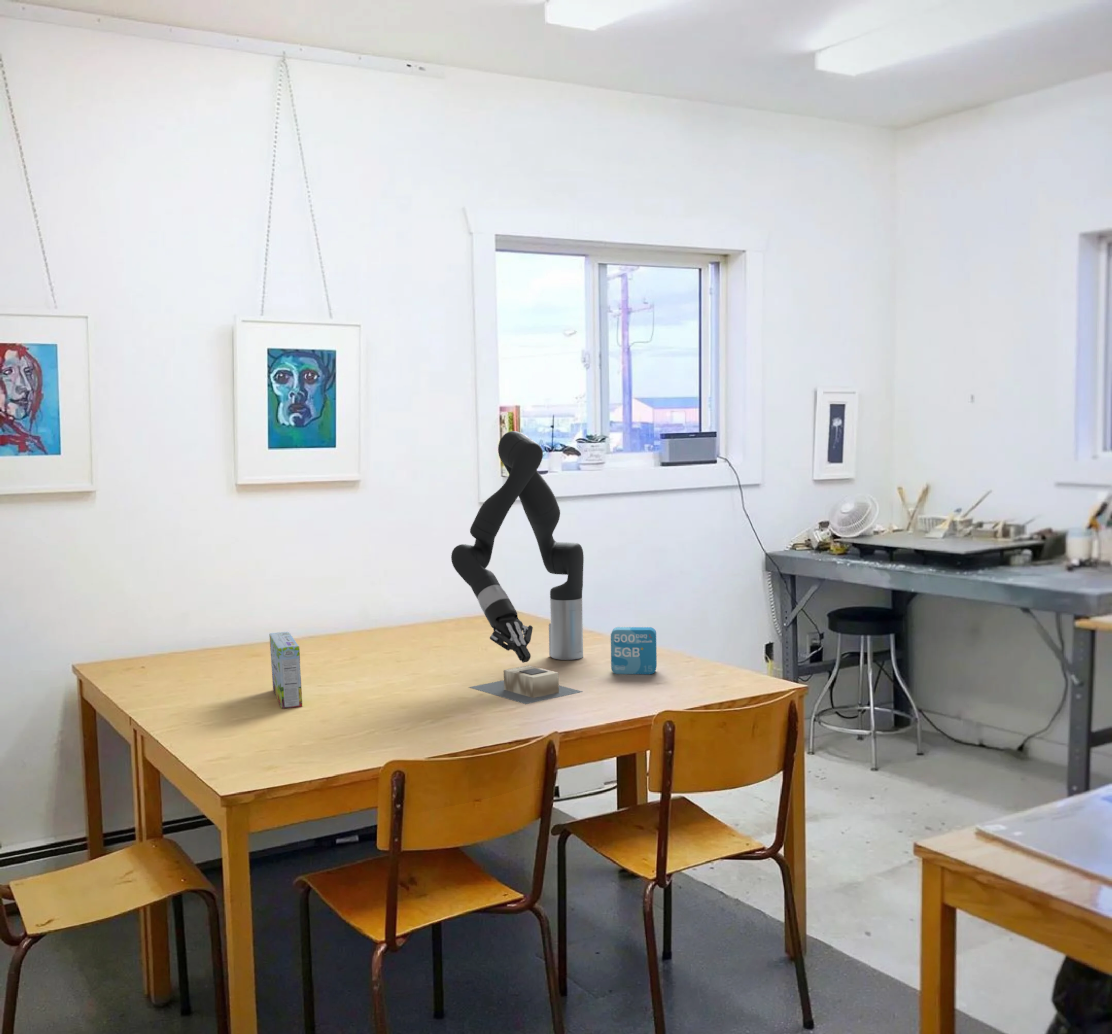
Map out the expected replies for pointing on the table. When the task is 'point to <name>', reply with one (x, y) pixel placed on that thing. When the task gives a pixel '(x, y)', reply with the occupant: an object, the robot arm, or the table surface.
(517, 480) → the robot arm
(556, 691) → the ash block
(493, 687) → the mat
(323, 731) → the table surface
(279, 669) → the snack box
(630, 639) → the data package
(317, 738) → the table surface
